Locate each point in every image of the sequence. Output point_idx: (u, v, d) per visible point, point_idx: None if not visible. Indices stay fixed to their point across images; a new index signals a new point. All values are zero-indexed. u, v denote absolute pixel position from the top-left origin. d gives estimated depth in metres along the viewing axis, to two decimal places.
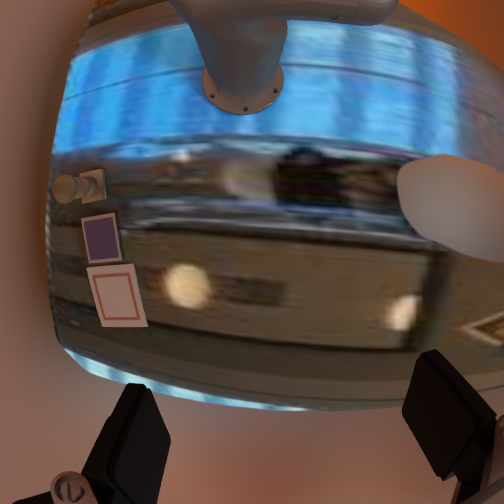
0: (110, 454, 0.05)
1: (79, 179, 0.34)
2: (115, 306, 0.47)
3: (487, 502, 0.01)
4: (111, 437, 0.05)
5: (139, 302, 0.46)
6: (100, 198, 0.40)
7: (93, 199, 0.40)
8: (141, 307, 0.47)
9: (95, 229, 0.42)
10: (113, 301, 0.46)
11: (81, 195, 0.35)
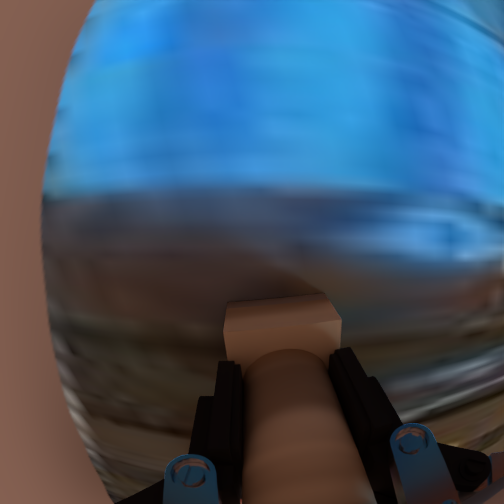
0: (229, 427, 0.06)
1: (357, 466, 0.05)
2: None
3: (487, 502, 0.01)
4: (224, 411, 0.07)
5: None
6: None
7: None
8: None
9: None
10: None
11: None
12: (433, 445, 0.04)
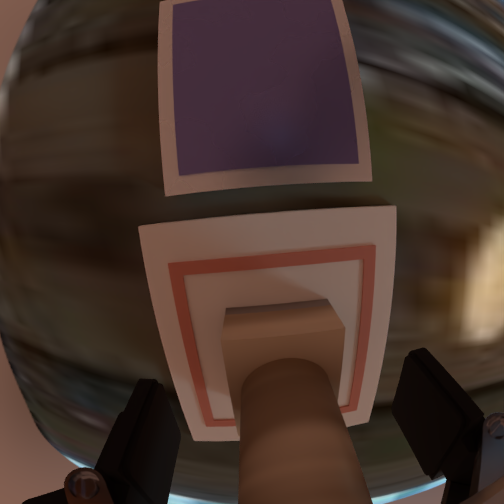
0: (125, 449, 0.05)
1: (360, 486, 0.04)
2: None
3: (487, 502, 0.01)
4: (125, 432, 0.06)
5: (377, 358, 0.12)
6: None
7: None
8: (376, 373, 0.12)
9: (236, 28, 0.07)
10: None
11: None
12: None
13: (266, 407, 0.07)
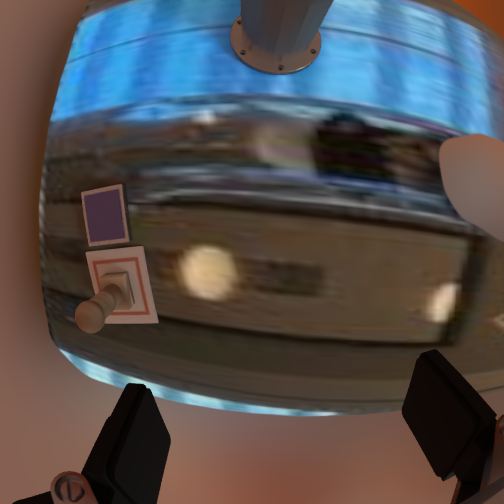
0: (109, 455, 0.05)
1: (104, 300, 0.32)
2: None
3: (487, 502, 0.01)
4: (111, 437, 0.05)
5: (149, 293, 0.39)
6: (127, 308, 0.37)
7: (119, 308, 0.37)
8: (151, 299, 0.39)
9: (97, 205, 0.35)
10: None
11: (108, 315, 0.33)
12: None
13: (101, 290, 0.34)
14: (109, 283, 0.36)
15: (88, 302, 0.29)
